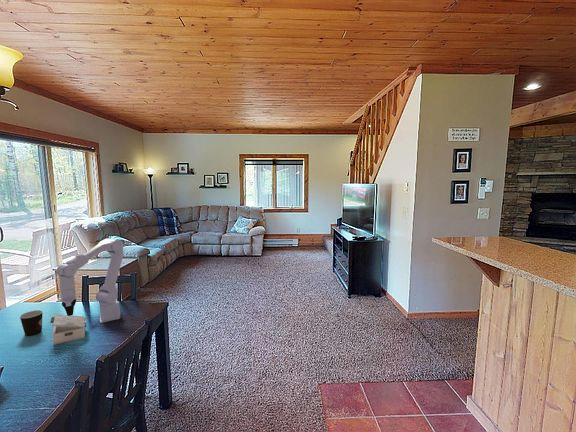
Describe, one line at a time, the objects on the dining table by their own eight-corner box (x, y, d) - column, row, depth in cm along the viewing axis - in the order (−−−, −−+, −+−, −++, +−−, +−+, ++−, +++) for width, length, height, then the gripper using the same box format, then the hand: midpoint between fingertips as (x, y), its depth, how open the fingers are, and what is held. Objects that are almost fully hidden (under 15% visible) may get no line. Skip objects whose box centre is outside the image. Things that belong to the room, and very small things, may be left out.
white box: (87, 325, 158) (86, 315, 157) (87, 338, 146) (86, 327, 145) (55, 332, 151) (54, 322, 150) (53, 346, 139) (52, 335, 138)
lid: (83, 317, 156) (84, 316, 156) (83, 327, 146) (84, 326, 146) (51, 315, 148) (52, 314, 148) (49, 326, 138) (50, 324, 138)
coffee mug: (31, 338, 145) (29, 319, 144) (17, 336, 147) (15, 317, 146) (54, 326, 157) (52, 308, 155) (41, 325, 158) (39, 307, 157)
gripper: (58, 285, 149) (60, 311, 151) (56, 295, 137) (59, 323, 139) (75, 282, 153) (77, 308, 155) (75, 291, 141) (77, 319, 143)
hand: (70, 315), depth 147 cm, fingers closed
